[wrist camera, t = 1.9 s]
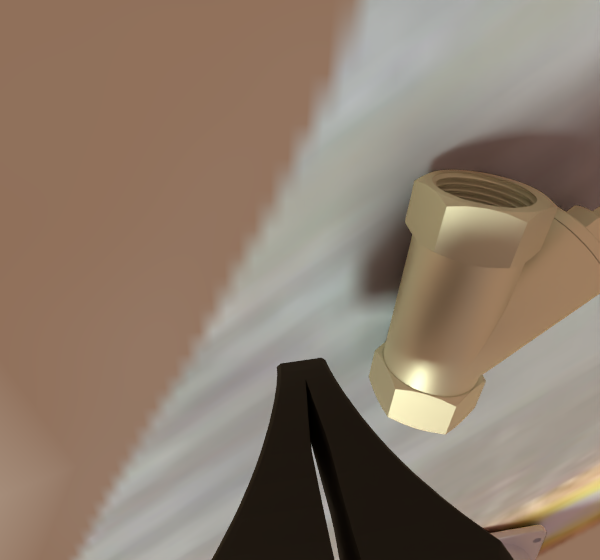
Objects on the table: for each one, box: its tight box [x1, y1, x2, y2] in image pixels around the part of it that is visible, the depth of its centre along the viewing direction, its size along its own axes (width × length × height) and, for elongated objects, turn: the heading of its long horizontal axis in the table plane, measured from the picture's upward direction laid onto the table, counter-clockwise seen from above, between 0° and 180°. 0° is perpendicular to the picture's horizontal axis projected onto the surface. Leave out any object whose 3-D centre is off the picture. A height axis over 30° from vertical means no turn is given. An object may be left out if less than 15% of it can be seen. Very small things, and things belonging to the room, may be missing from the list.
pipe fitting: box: [369, 170, 600, 434], centre depth 15 cm, size 8×4×7 cm
